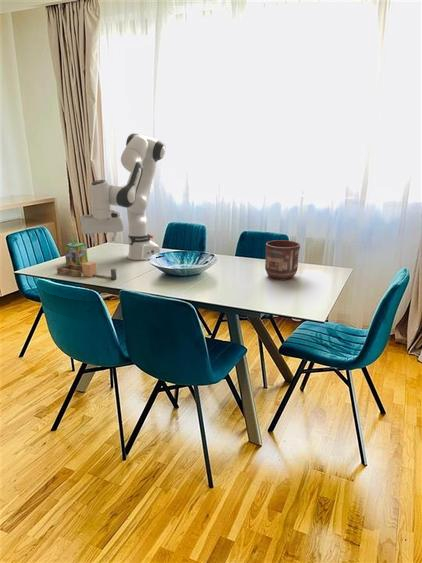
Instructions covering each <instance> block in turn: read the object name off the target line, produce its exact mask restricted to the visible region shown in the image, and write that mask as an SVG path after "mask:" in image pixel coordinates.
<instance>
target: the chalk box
mask: <svg viewBox="0 0 422 563" xmlns="http://www.w3.org/2000/svg"><path fill="white" fill-rule="evenodd" d="M70 241H71V242H70V243H68V244H65V245H63V249H64V256H65V265H67V264H74V265H80V266H82V264H83V263H86V262H89V260H88V252H87V243H83V242H78V241H77V238H76V237H73V238H71V239H70ZM74 241H75V242H74Z"/></svg>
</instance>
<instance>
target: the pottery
mask: <svg viewBox="0 0 422 563" xmlns="http://www.w3.org/2000/svg"><path fill="white" fill-rule="evenodd" d="M300 248H301V244H300V243H299V242H296V241H294V240H293V241H292V240H286V239H282V240H281V239H280V240H279V239H276V240H270V241H267V242H266V243H265V264H264V270H265V273H266V274H267V276H268V277H269V276H270V277H271V279H272V278H274V279H273V280H276V279H288V280H290V279H292V278H294V276H295V275H296V274H297V271H298V267H299V254H300ZM270 277H269V278H270Z"/></svg>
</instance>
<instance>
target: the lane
mask: <svg viewBox="0 0 422 563" xmlns="http://www.w3.org/2000/svg"><path fill="white" fill-rule="evenodd" d="M56 270H57V274H58V275H62V276H63V275H64V276H69V275H70V277H75V276H77V277H76V278H82V273H83V269H82V265H74V264H67V265H66V264H64V265H62V266H59V267H57V268H56ZM81 271H82V272H81Z"/></svg>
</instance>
